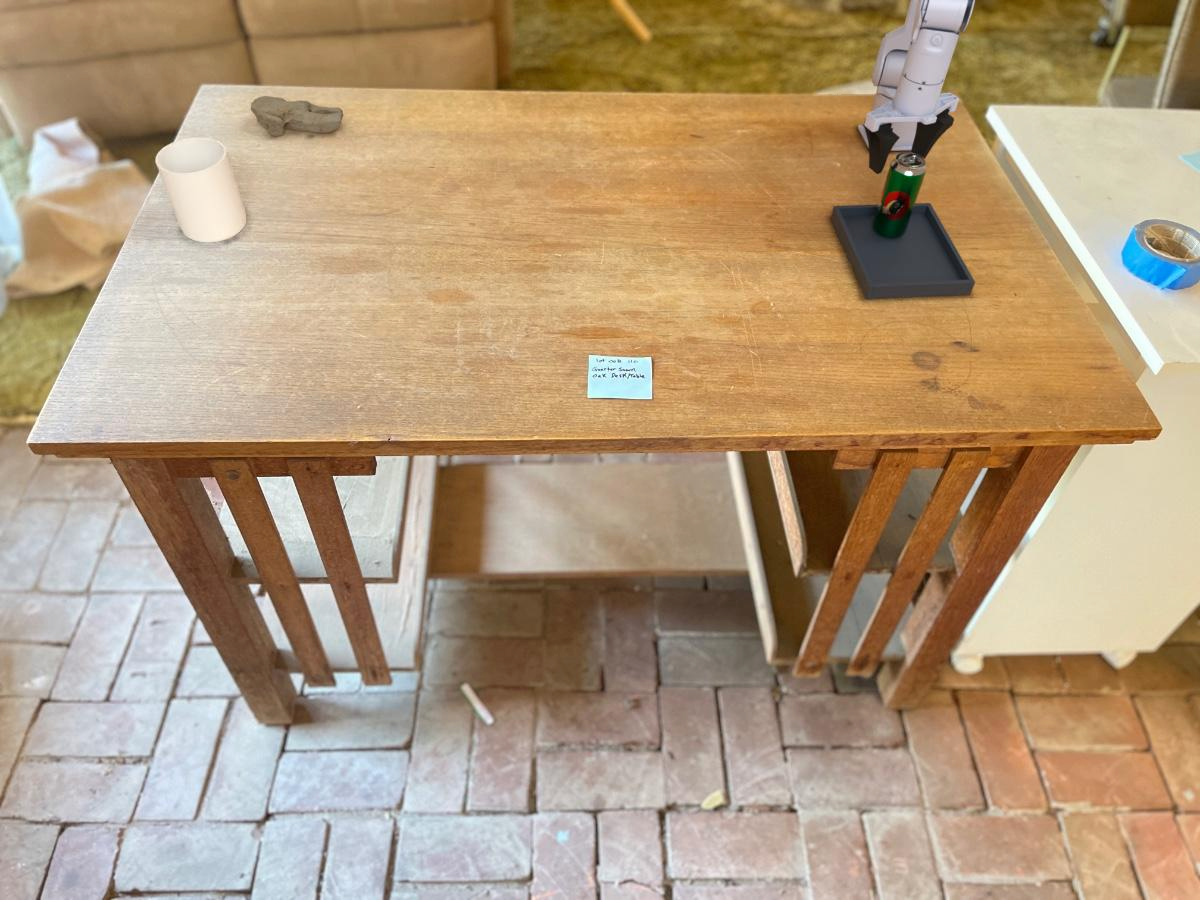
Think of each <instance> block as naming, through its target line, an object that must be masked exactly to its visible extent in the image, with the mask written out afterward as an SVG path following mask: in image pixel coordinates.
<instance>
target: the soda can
mask: <svg viewBox="0 0 1200 900" xmlns="http://www.w3.org/2000/svg"><path fill="white" fill-rule="evenodd" d="M926 173H927V161H926V158H925V159H924V158H923V157H922V156H920V155H918V154H916V153H912V152H911V151H901V152H899V153H897V154H896V155H895V157H894V158H893V159H892V160H891V161H890V165H889V167H888V170H887V174H886V177H885V181H884V183H883V187H882V190H881V194H880V197H879V201H878V204H877V205H878V207H877V210H876V214H875V217H874V220H873V228H874V230H875V232H876V233H877V234H879V235H880V236H882V237H885V238H898V237H900V236H902V235H903V234H905V232H906V230H907V227H908V224H909V221H910V218H911V215H912V212H913V209H914V206H915V203H917V199H918V197H919V194H920V191H921V188H922V185H923V182H924V179H925V175H926Z"/></svg>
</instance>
